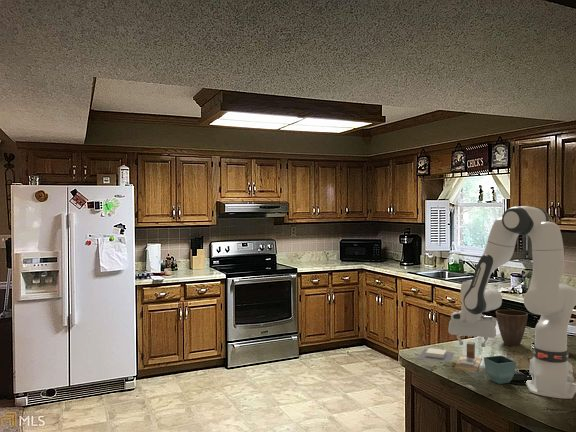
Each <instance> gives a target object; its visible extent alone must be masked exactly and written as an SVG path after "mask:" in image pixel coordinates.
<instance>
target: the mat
mask: <svg viewBox="0 0 576 432" xmlns="http://www.w3.org/2000/svg"><path fill="white" fill-rule="evenodd" d="M428 349H429V348H425V349H423V350H422V352H421V353H420V354H419V355H418V357H417V359H420V360H421V359H422V360H428V361H437V362H443V363H450V361H451V360H452V358H453V357H454V355H455V352H449V351H447V355H446V356H445V358H444V359H440V358H432V357H426V351H427V350H428Z"/></svg>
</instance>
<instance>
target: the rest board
mask: <svg viewBox="0 0 576 432" xmlns="http://www.w3.org/2000/svg"><path fill="white" fill-rule="evenodd" d="M464 357H467V354H466V355H465V354H461V355H460V357H458V360H457V362H456V364H455V366H454V370H458V371H459V370H461V371H467V372H474V373H477V372H478V369H479V366H480V364H481V361H482V360H483V357H482V356H475V358H476V362H475V364H474V366H473V367H466V366H461V362H462V360H463V359H464Z"/></svg>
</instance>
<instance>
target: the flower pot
mask: <svg viewBox="0 0 576 432" xmlns="http://www.w3.org/2000/svg"><path fill="white" fill-rule="evenodd" d="M483 362H484V363H483V364H484V368H485V372H486V374H487V377H488V378H489V380H490V381H493V382H494V383H495V384H499V385H501V384H503V385H504V384H509V383H510V382H511V381H512V379H513V378H514V375H515V371H516V366H517V361H516V360H513V359H511V358H508V357H506V356H504V355H493V356H485V357H484V356H483Z"/></svg>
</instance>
